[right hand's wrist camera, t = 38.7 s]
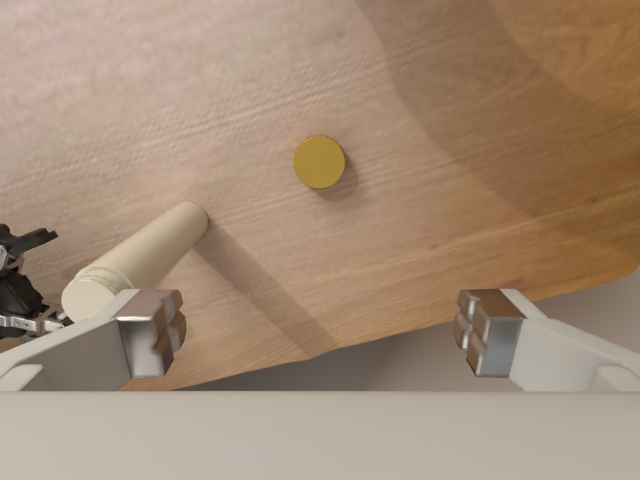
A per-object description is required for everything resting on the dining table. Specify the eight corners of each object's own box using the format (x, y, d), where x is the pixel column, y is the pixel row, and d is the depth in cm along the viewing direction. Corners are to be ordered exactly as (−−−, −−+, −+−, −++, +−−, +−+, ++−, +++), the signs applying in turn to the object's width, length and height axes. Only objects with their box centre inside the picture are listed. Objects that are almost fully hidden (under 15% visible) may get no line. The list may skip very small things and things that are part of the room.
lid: (335, 127, 37) (335, 128, 35) (350, 176, 38) (352, 179, 37) (287, 145, 37) (285, 147, 36) (304, 192, 39) (304, 196, 37)
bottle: (209, 240, 41) (130, 336, 24) (170, 237, 41) (63, 333, 24) (207, 202, 40) (120, 277, 22) (167, 200, 39) (48, 274, 22)
